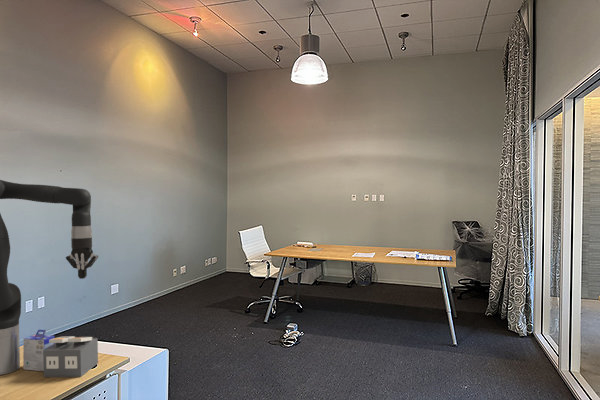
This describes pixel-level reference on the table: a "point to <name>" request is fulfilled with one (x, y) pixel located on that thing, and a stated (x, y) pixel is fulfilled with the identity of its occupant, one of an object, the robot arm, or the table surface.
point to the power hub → (70, 358)
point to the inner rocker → (60, 339)
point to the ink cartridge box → (35, 350)
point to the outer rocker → (79, 339)
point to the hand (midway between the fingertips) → (82, 278)
